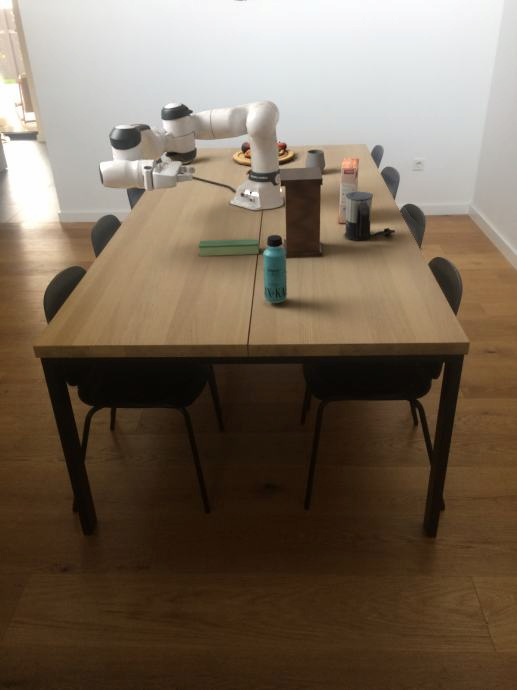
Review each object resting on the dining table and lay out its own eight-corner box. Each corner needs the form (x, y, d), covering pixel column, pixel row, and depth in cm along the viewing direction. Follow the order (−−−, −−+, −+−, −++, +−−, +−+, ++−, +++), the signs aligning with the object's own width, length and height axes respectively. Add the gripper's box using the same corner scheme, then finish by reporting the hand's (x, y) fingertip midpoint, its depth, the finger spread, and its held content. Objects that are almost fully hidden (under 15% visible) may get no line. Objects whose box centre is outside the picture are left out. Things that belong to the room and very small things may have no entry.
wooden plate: (274, 170, 281) (273, 152, 277) (220, 163, 296) (219, 146, 292) (305, 154, 304) (305, 138, 299) (253, 148, 318) (253, 133, 314)
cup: (328, 171, 275) (329, 150, 269) (319, 176, 268) (319, 154, 263) (311, 169, 279) (311, 148, 274) (301, 174, 273) (301, 152, 267)
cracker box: (354, 224, 215) (357, 167, 203) (338, 223, 216) (340, 167, 205) (356, 211, 226) (359, 157, 215) (341, 211, 227) (343, 157, 216)
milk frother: (339, 234, 207) (340, 193, 199) (376, 226, 212) (379, 186, 204) (360, 247, 196) (363, 205, 188) (399, 239, 201) (403, 197, 193)
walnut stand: (282, 258, 191) (280, 180, 177) (281, 243, 202) (279, 168, 188) (322, 257, 191) (323, 178, 177) (319, 242, 202) (320, 167, 188)
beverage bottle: (263, 298, 168) (260, 233, 157) (286, 296, 168) (284, 231, 157) (265, 308, 162) (262, 242, 151) (289, 307, 162) (288, 240, 152)
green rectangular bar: (199, 256, 196) (198, 246, 194) (201, 250, 200) (200, 240, 198) (258, 254, 195) (258, 244, 193) (258, 248, 199) (258, 238, 197)
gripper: (155, 176, 194) (196, 175, 194) (146, 192, 176) (191, 191, 176) (154, 156, 191) (195, 156, 191) (144, 171, 173) (190, 171, 173)
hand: (193, 173), depth 183 cm, fingers open, 8 cm apart
